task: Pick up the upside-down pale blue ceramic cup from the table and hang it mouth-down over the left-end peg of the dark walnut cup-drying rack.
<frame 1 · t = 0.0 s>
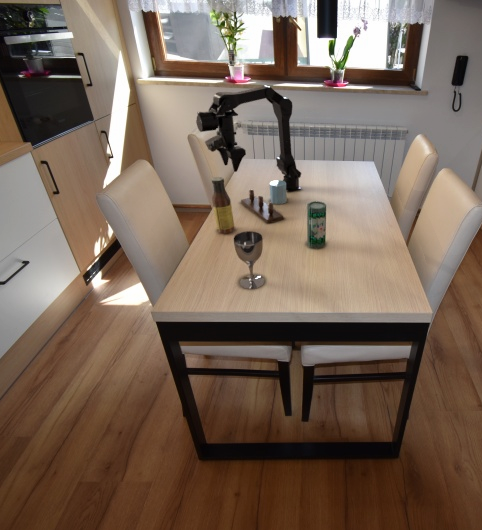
hand: (230, 168, 157), 15 cm above the table, tool pointing down, fingers open, 9 cm apart
sauce bottle: (225, 230, 143), on the table
wine glass: (252, 282, 116), on the table
rack: (261, 210, 158), on the table
cup: (278, 200, 167), on the table
can: (316, 244, 137), on the table
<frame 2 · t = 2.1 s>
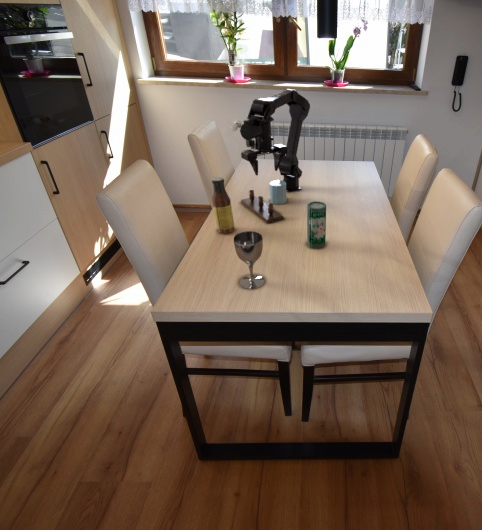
hand: (266, 172, 160), 13 cm above the table, tool pointing down, fingers open, 9 cm apart
nothing on the table moved.
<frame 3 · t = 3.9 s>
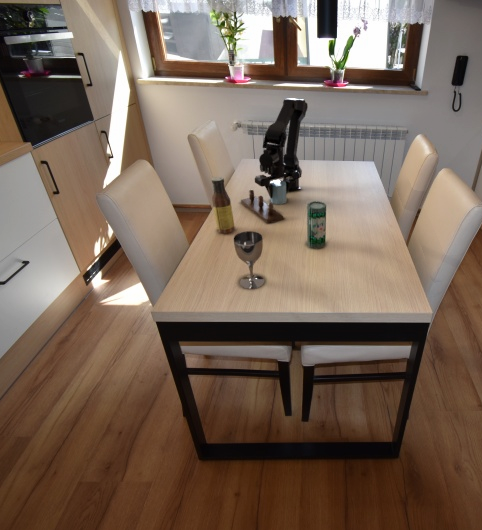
hand: (278, 196, 166), 2 cm above the table, tool pointing down, fingers closed on cup, 7 cm apart
cup: (278, 200, 167), on the table, touching gripper
everything else where it was.
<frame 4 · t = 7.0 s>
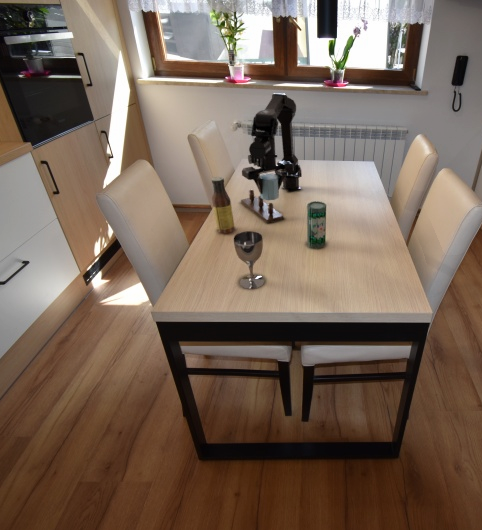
hand: (269, 191, 147), 11 cm above the table, tool pointing down, fingers closed on cup, 7 cm apart
cup: (269, 196, 148), point 9 cm above the table, touching gripper
everything else where it was.
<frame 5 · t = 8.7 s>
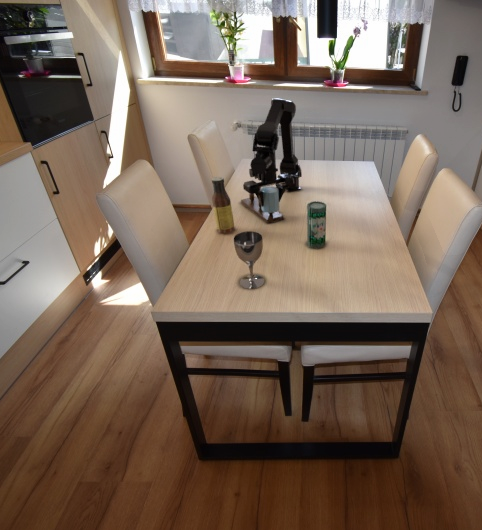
hand: (270, 204, 150), 6 cm above the table, tool pointing down, fingers closed on cup, 7 cm apart
cup: (270, 208, 151), point 4 cm above the table, touching gripper
everything else where it was.
when the fingers open (3 cm above the table, at t = 10.0 s): cup stays where it is, resting on rack.
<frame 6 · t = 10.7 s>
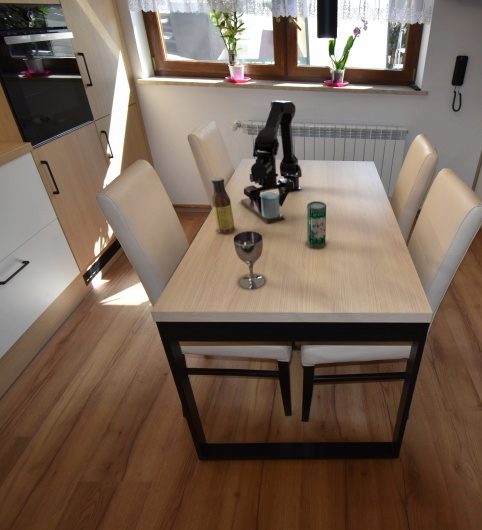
hand: (270, 208, 151), 4 cm above the table, tool pointing down, fingers open, 9 cm apart
cup: (270, 214, 152), point 1 cm above the table, touching rack
everything else where it was.
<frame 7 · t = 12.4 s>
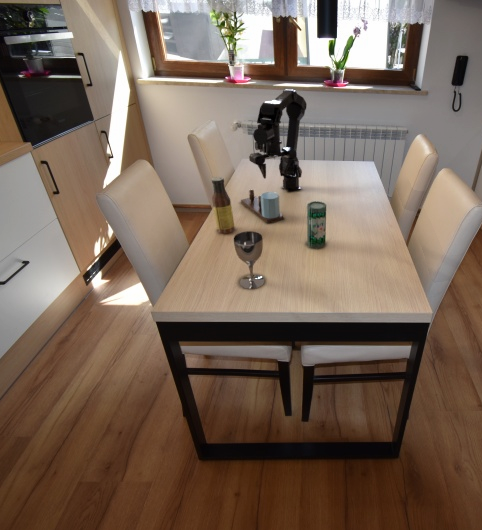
hand: (274, 176, 159), 12 cm above the table, tool pointing down, fingers open, 9 cm apart
nothing on the table moved.
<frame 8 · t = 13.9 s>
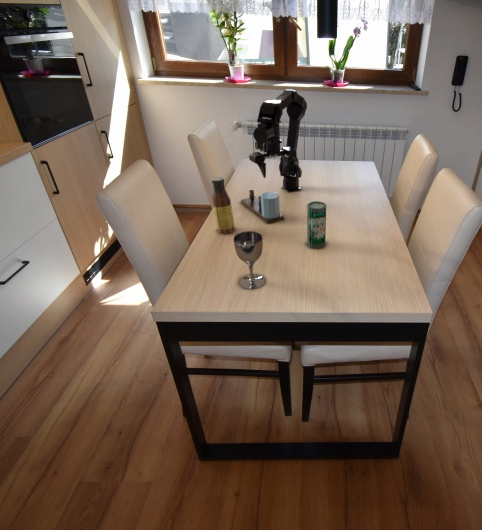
hand: (274, 175, 159), 12 cm above the table, tool pointing down, fingers open, 9 cm apart
nothing on the table moved.
at the end: cup 0.0 cm from the target spot on the rack, point 1.5 cm above the rack's base; cup tilted 0°; the gripper is holding nothing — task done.
